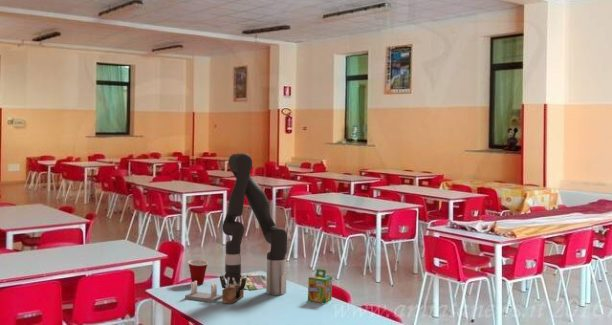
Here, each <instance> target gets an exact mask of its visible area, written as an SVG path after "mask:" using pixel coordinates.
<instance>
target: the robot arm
mask: <svg viewBox="0 0 612 325" xmlns="http://www.w3.org/2000/svg"><path fill="white" fill-rule="evenodd" d="M252 158H253V157H251V156H250V155H249V154H248V153H244V152H243V153H233V154H231V155H230V157H229V158H228V168H229V169H230V171H231V172H232V174H233V176H234V177H235V179H236V180H235V183H234V186H233V187H232V191H231V192H230V195H229V199H228V206H227V208H228V209H227V212H226V214H225V217H224V220H223V223H222V232H223V233H224V234H225V235H226V236H231V237H232V238H231V240H228V241H226V242H225V243H226V244H225V255H224V256H225V257H224V258H225V260H224V262H225V263H224V271H225V272H224V273H225V274H224V275H220V276H219V281H220V285H221V288H222V289H225V288H228V287H230V286H232V285H234V286H235V287H236V299H239V297H240V291H241V290H243V289H244V287H245V284H246V280H247V278H243V277H242V276H241V274H242V255H241V254H242V252H241V251H242V250H241V245H242V242H243V238H244V237H243V236H244V233H245V228H244V224H243V223H242V222H241V221H236V219H237V218H238V217H241V216H242V215H243V211H244V205H245V204H244V203H245V198H246V201H247V202H248V205H249V207H250V209H251V211H252V212H253V214H254V216H255V218H256V220H257V222H258V223H259V227H260V229H261V232H262V235H263V237H264V240H265V241H266V242H267V243H268V244H270V251H269V252H267V253H266V276H267V279H266V288H265V289H266V291H265V292H266V294H267V295H273V296H275V295H276V296H278V295H279V296H280V295H281V296H282V295H284V294H285V293H287V273H286V255H287V252H288V232H287V230H285V229H284V228H282V227H279V226H277V224H276V223H275V220H274V219H273V217H272V214H271V208H270V206H271V205H270V202H269V199H268V197H267V195H266V193H265V192H264V189H263V187H261V185H259V183H257V182H256V180H255V179H254V178H253V177H252V175H251V171H252V168H253V159H252ZM240 279H241V286H240V282H239V281H240ZM239 300H240V299H239Z"/></svg>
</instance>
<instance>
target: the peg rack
mask: <svg viewBox="0 0 612 325" xmlns="http://www.w3.org/2000/svg"><path fill="white" fill-rule="evenodd" d="M190 283H191V284H190V286H191V287H190V290H191V291H190V293H187V294H184V299H185V300H192V299H193V301H200V302H201V301H202V302H207V301H208V302H209V303H216V302H219V300H222V294H218V289H217V288H218V287H217V286H218V284H217V283H216V282H215V283H213V284H210V293H208V292H202V291H201V292H200V291H198V285H197V281H194V282H192V281H191V282H190ZM208 302H207V303H208Z"/></svg>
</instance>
